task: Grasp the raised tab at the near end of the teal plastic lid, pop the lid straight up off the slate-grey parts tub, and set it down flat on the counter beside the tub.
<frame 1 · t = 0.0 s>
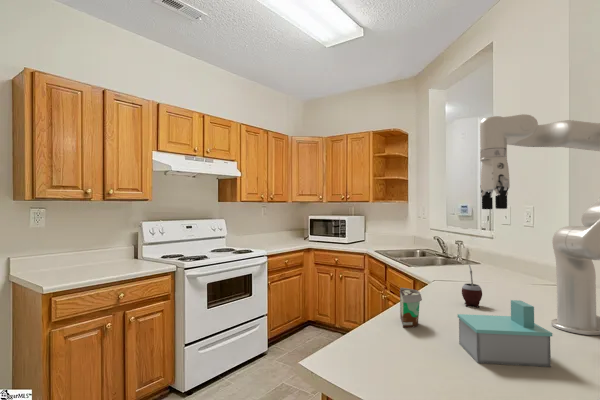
hand: (493, 208, 110), 37 cm above the countertop, tool pointing down, fingers open, 9 cm apart
tub: (501, 354, 85), on the countertop
mate gourd: (471, 306, 132), on the countertop
lid: (501, 325, 86), point 7 cm above the countertop, touching tub
food container: (411, 324, 109), on the countertop
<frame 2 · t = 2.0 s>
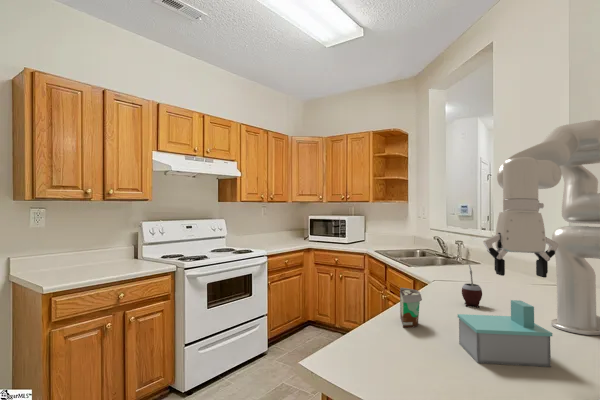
hand: (520, 275, 85), 20 cm above the countertop, tool pointing down, fingers open, 9 cm apart
nothing on the countertop moved.
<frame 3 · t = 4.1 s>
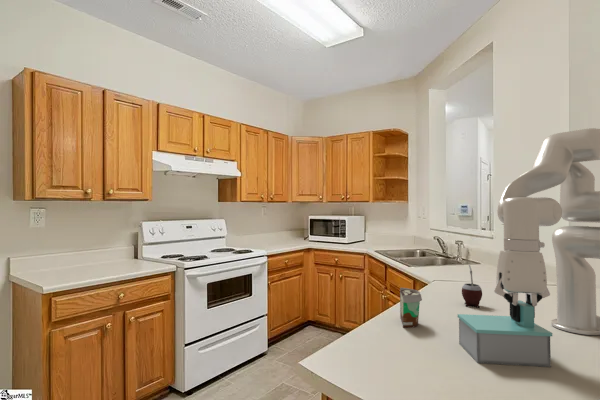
hand: (522, 320, 85), 9 cm above the countertop, tool pointing down, fingers closed on lid
lid: (501, 325, 86), point 7 cm above the countertop, touching gripper
everything else where it was.
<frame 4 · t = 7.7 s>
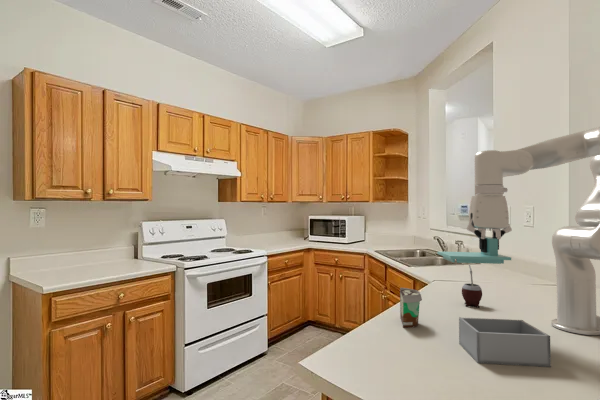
hand: (489, 251, 104), 24 cm above the countertop, tool pointing down, fingers closed on lid
lid: (471, 256, 104), point 22 cm above the countertop, touching gripper
everything else where it was.
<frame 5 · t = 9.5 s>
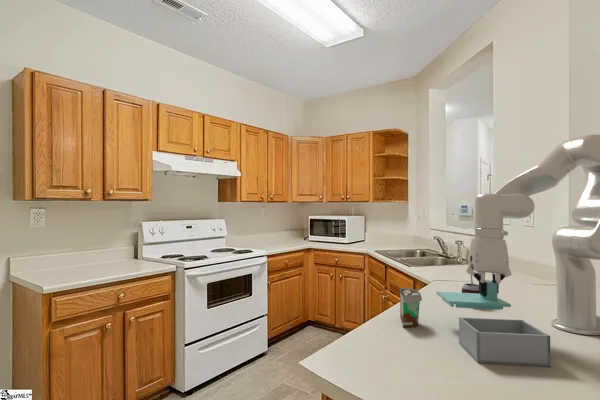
hand: (488, 295, 103), 11 cm above the countertop, tool pointing down, fingers closed on lid
lid: (471, 300, 104), point 9 cm above the countertop, touching gripper
everything else where it was.
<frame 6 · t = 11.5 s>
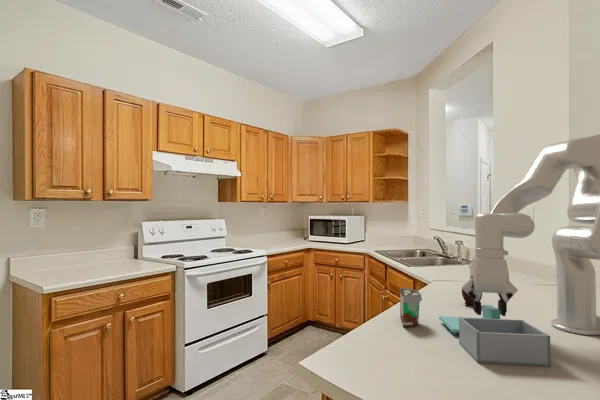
hand: (489, 313, 103), 5 cm above the countertop, tool pointing down, fingers open, 6 cm apart
lid: (473, 326, 103), point 1 cm above the countertop
everything else where it was.
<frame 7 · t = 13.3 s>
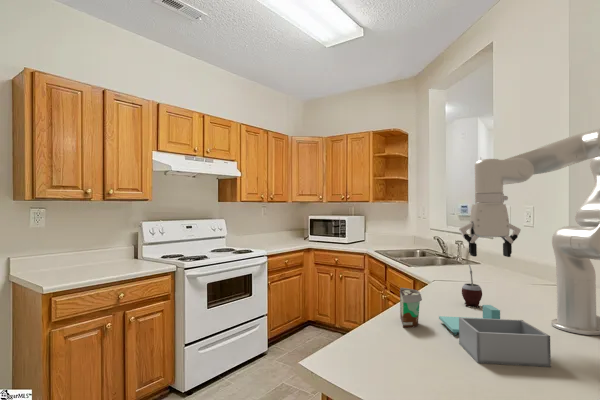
hand: (490, 256, 104), 22 cm above the countertop, tool pointing down, fingers open, 9 cm apart
nothing on the countertop moved.
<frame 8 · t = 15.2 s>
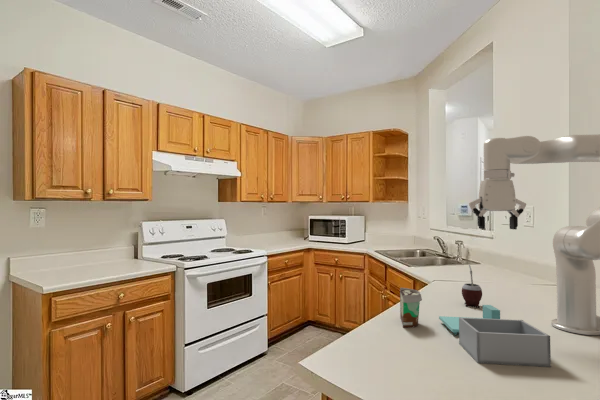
hand: (497, 228, 111), 30 cm above the countertop, tool pointing down, fingers open, 9 cm apart
nothing on the countertop moved.
at the end: lid inside the target area (0.4 cm from its centre), point 1.2 cm above the countertop; lid tilted 0°; the gripper is holding nothing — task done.
